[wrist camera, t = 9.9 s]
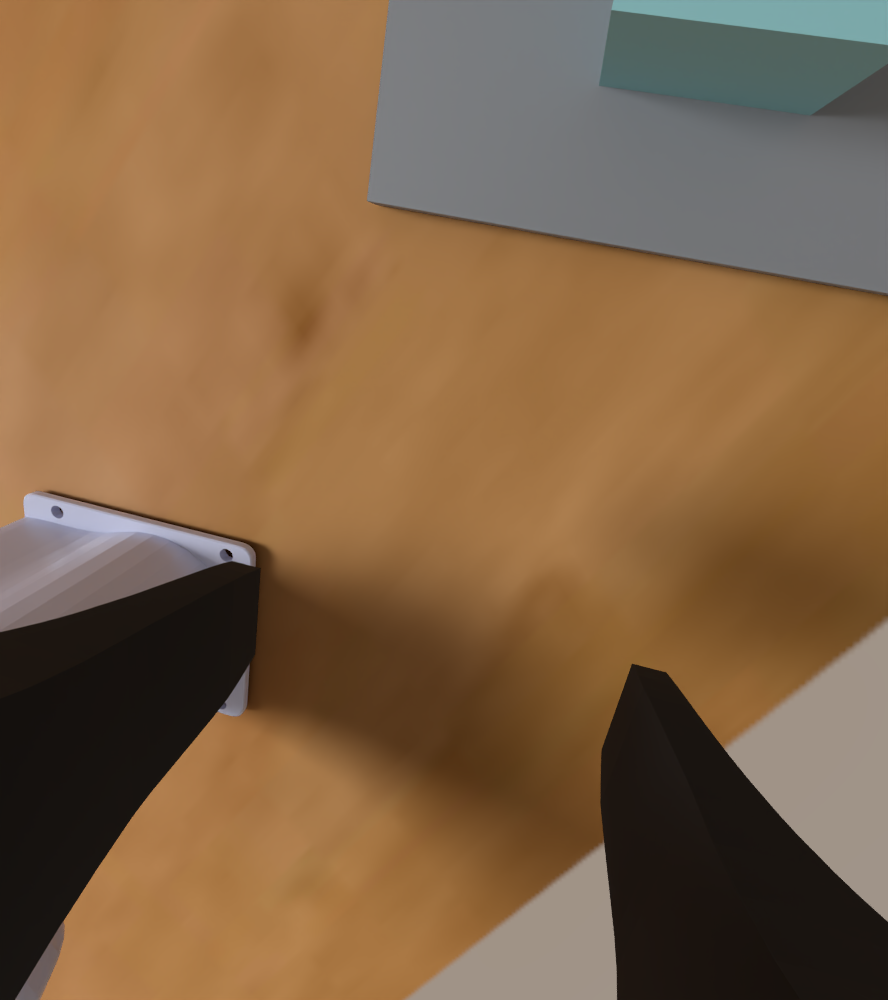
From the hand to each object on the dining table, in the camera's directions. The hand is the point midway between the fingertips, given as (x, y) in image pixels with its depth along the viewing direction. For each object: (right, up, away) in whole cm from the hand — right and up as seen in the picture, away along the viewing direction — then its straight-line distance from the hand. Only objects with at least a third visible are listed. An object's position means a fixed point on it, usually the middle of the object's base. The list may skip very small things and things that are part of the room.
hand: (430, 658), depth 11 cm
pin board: (+7, +15, +3) cm, 17 cm away
